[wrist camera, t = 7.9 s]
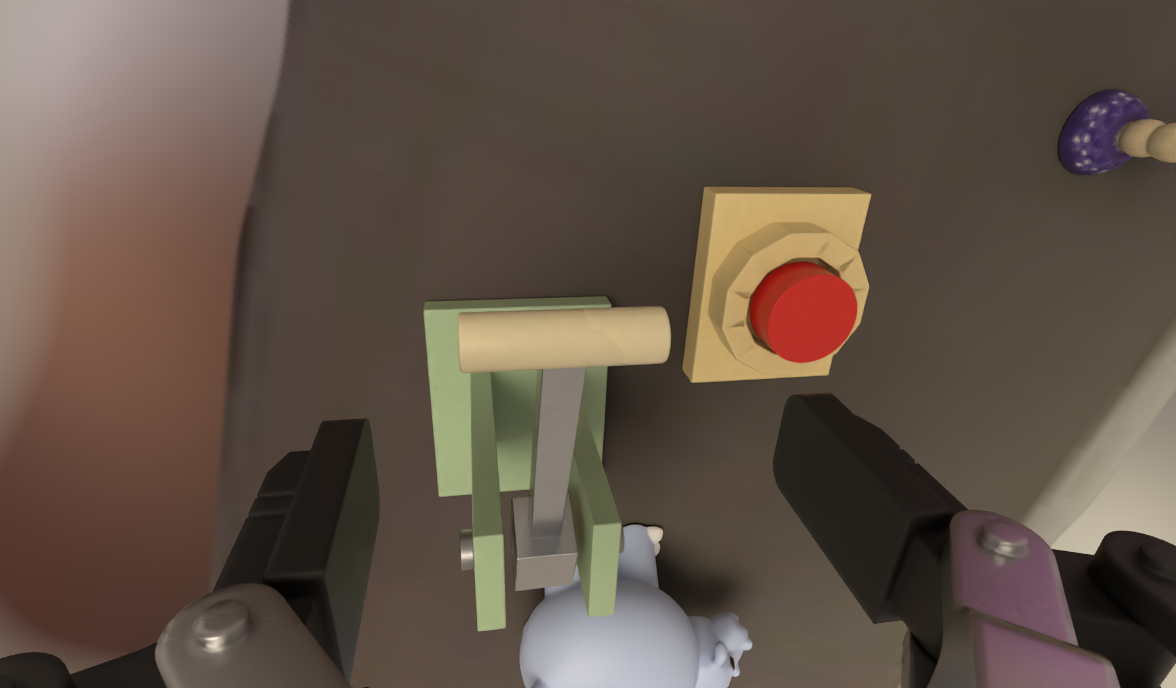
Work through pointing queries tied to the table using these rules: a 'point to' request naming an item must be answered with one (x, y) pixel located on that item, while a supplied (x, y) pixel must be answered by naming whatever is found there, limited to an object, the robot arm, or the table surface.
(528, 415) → the bracket
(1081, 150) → the toy lamp
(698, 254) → the button box
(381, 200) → the table surface
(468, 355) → the lever
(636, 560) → the hippopotamus toy
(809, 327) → the button
